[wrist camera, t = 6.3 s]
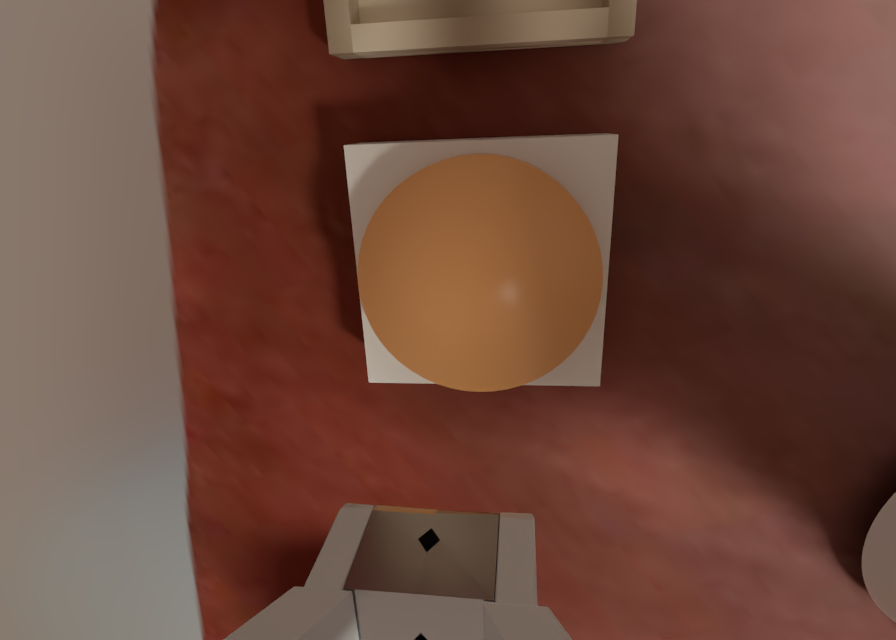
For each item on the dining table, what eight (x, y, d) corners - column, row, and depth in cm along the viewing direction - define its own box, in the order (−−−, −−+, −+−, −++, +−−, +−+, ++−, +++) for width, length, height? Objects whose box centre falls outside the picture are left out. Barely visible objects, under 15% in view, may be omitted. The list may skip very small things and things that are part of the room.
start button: (604, 148, 20) (612, 150, 19) (589, 377, 24) (594, 394, 22) (356, 157, 21) (344, 160, 20) (377, 373, 25) (369, 389, 23)
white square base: (605, 132, 23) (618, 134, 20) (590, 358, 27) (599, 386, 24) (362, 142, 24) (343, 145, 21) (382, 356, 28) (368, 382, 25)
